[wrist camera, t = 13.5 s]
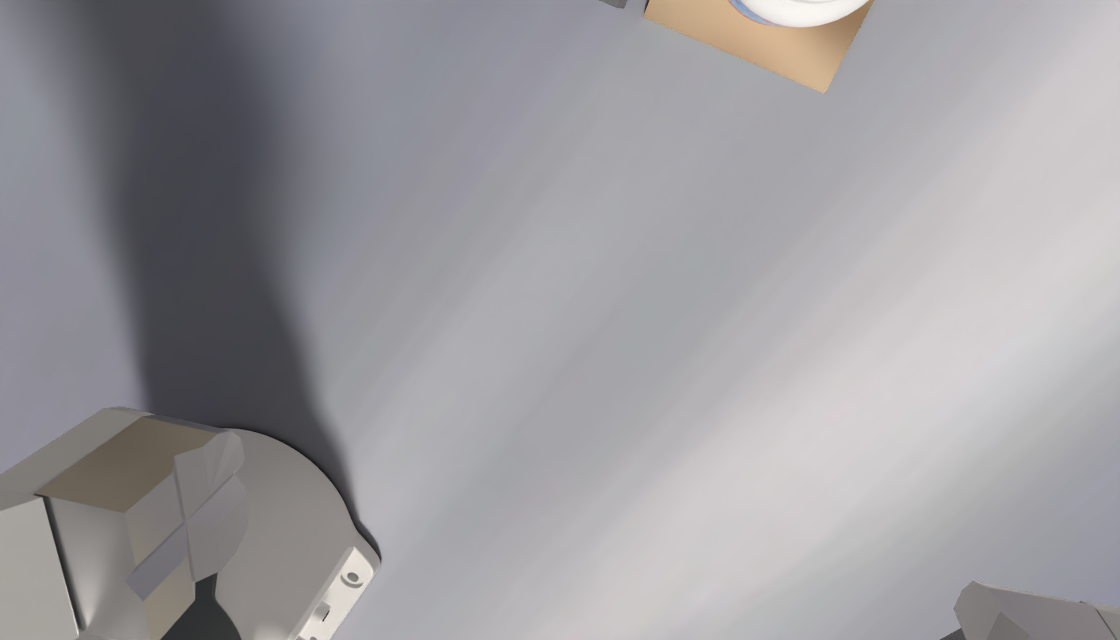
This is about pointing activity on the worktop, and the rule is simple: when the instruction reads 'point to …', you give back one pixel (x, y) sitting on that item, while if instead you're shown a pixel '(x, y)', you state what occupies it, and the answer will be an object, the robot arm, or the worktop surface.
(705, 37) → the cork pad
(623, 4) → the grey square bottle holder
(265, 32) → the worktop surface
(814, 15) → the pill bottle
